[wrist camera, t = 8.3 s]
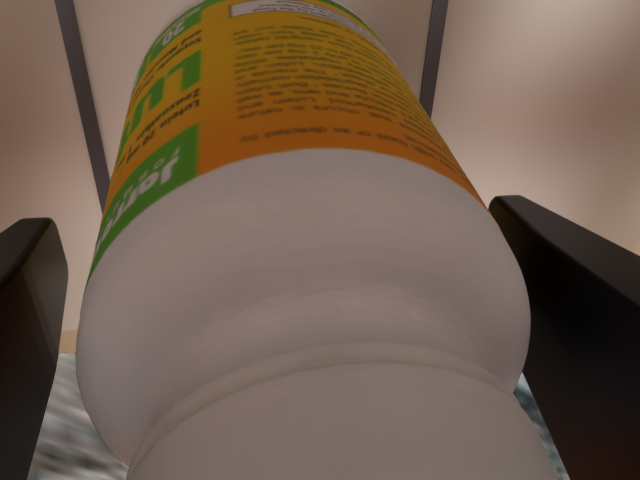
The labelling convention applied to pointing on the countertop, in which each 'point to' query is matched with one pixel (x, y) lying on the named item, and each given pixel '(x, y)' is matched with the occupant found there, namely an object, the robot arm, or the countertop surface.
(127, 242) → the supplement bottle
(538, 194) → the beige rectangular board
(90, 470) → the countertop surface
